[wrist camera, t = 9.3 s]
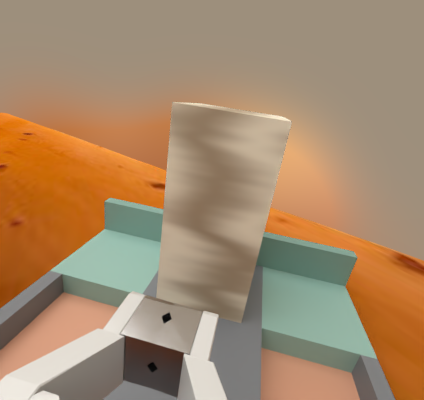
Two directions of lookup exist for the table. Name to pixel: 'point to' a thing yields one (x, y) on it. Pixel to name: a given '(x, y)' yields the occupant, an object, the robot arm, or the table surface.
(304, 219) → the table surface
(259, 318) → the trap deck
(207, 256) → the maple block
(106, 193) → the table surface
